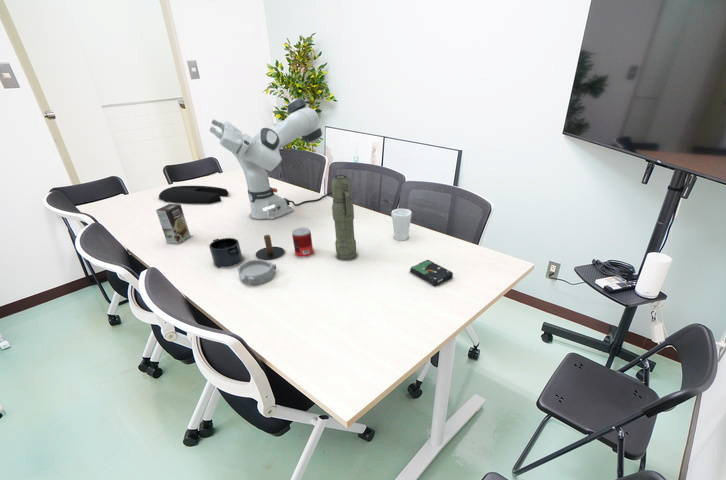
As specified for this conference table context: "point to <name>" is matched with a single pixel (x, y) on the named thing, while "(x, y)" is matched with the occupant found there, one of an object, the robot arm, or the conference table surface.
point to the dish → (256, 271)
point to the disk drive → (431, 272)
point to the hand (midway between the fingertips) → (211, 124)
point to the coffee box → (173, 223)
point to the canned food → (302, 242)
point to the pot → (225, 252)
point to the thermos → (343, 218)
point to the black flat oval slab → (193, 194)
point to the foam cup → (401, 223)
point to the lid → (269, 250)
